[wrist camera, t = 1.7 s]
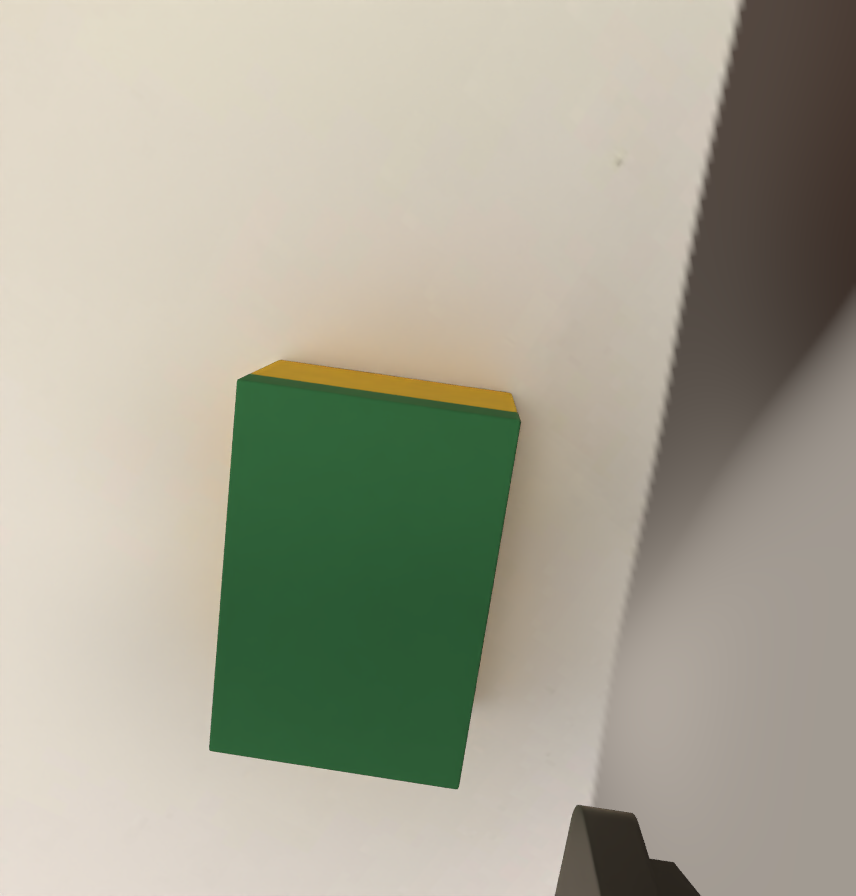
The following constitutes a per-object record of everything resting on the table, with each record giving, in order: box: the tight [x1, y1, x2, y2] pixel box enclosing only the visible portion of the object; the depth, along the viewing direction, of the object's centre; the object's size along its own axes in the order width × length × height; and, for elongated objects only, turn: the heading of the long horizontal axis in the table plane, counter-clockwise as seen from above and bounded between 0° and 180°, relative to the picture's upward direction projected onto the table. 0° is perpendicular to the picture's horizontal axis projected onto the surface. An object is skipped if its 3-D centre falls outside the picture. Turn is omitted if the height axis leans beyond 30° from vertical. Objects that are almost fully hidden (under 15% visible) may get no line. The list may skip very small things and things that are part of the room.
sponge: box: [209, 360, 521, 789], centre depth 18 cm, size 6×9×4 cm, turn 172°
